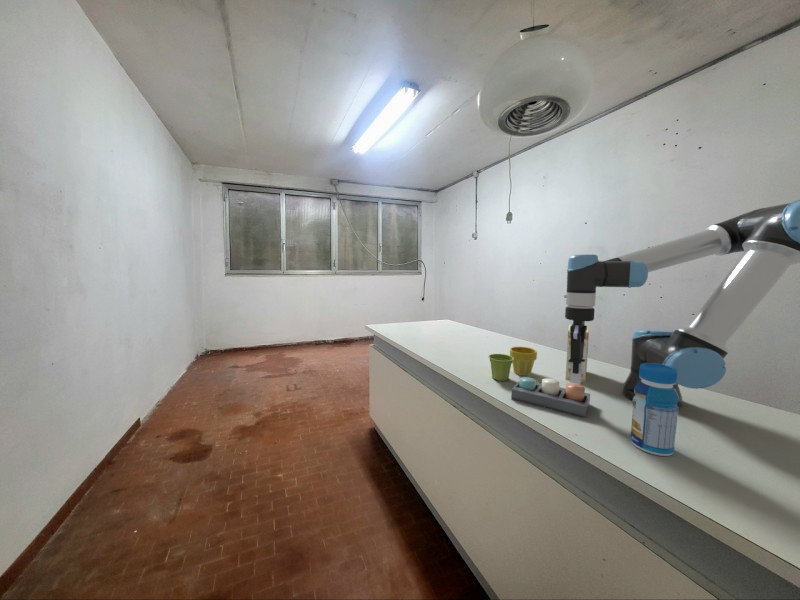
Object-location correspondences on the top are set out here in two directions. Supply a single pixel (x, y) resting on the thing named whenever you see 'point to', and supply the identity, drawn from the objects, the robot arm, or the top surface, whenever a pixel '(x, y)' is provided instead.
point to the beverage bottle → (655, 409)
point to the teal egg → (527, 383)
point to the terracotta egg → (575, 392)
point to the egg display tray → (551, 400)
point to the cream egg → (550, 387)
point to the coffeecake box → (585, 353)
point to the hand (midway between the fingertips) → (575, 382)
